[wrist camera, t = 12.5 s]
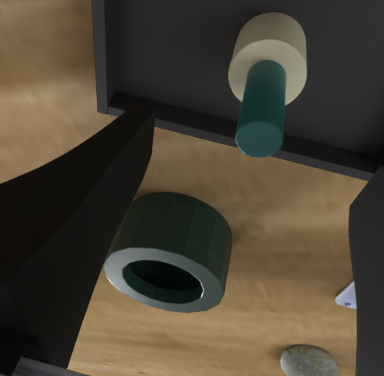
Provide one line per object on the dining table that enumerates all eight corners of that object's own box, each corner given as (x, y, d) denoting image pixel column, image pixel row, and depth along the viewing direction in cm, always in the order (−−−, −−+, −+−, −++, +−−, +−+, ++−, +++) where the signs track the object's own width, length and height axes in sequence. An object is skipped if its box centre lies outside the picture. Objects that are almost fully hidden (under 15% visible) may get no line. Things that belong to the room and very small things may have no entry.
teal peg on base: (317, 21, 15) (325, 113, 11) (291, 85, 18) (288, 183, 13) (245, 3, 16) (222, 88, 11) (229, 70, 18) (204, 162, 13)
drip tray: (529, -36, 13) (555, -19, 12) (379, 161, 21) (385, 185, 19) (105, -137, 14) (83, -131, 12) (110, 93, 21) (97, 112, 20)
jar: (244, 210, 26) (236, 269, 23) (219, 270, 33) (210, 322, 29) (126, 179, 26) (101, 233, 23) (124, 245, 33) (105, 294, 30)
